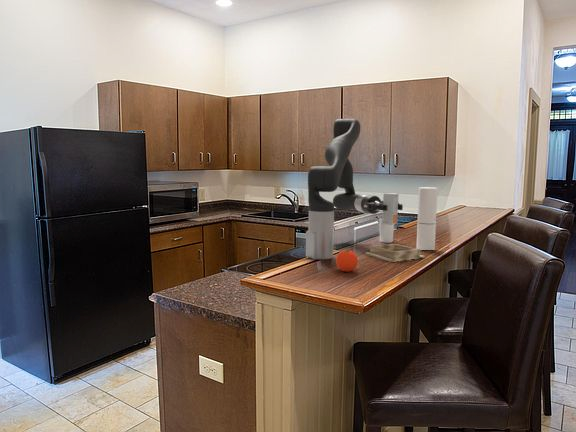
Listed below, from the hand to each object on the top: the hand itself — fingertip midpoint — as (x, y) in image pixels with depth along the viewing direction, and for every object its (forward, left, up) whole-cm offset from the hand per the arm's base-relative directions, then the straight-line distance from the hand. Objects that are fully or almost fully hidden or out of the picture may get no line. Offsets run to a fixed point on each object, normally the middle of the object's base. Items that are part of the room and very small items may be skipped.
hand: (394, 207), depth 174 cm
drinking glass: (+15, +22, -18) cm, 32 cm away
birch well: (-4, -6, -18) cm, 19 cm away
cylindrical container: (+17, 0, -18) cm, 25 cm away
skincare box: (0, +2, -7) cm, 7 cm away
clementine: (-34, -17, -18) cm, 42 cm away
